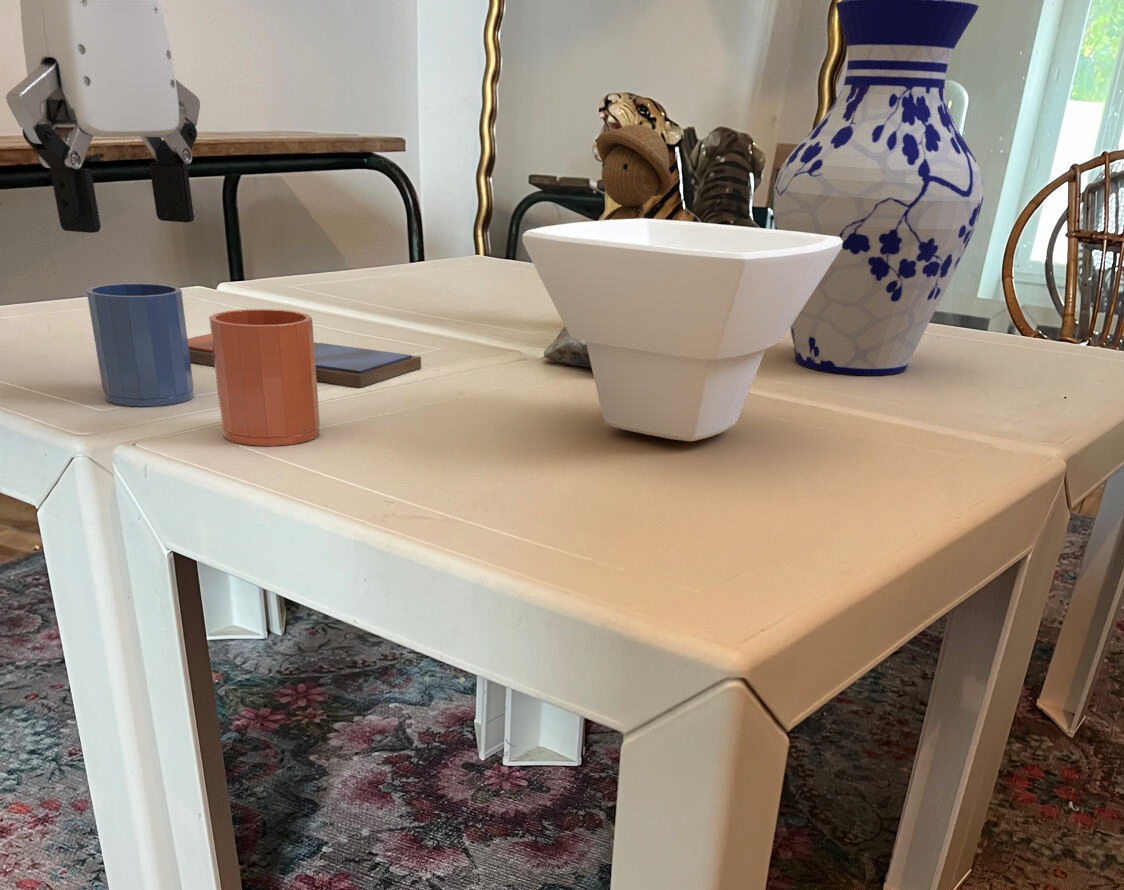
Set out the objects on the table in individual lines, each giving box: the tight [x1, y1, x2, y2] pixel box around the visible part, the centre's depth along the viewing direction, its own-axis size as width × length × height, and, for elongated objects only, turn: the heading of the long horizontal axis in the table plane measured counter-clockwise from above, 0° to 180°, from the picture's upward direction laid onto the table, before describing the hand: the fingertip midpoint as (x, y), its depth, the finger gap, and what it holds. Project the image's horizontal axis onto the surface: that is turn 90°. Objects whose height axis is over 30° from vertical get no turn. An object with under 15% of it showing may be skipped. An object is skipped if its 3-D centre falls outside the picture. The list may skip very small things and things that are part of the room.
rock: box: [543, 325, 592, 369], centre depth 105 cm, size 11×6×10 cm
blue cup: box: [86, 282, 195, 408], centre depth 88 cm, size 7×7×8 cm
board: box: [187, 333, 422, 389], centre depth 103 cm, size 22×10×1 cm, turn 65°
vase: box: [772, 0, 984, 376], centre depth 104 cm, size 19×19×30 cm
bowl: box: [522, 217, 843, 442], centre depth 82 cm, size 19×19×14 cm
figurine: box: [595, 123, 673, 220], centre depth 119 cm, size 9×7×20 cm
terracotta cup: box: [208, 308, 320, 447], centre depth 79 cm, size 7×7×8 cm
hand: (130, 225), depth 84 cm, fingers open, 9 cm apart
